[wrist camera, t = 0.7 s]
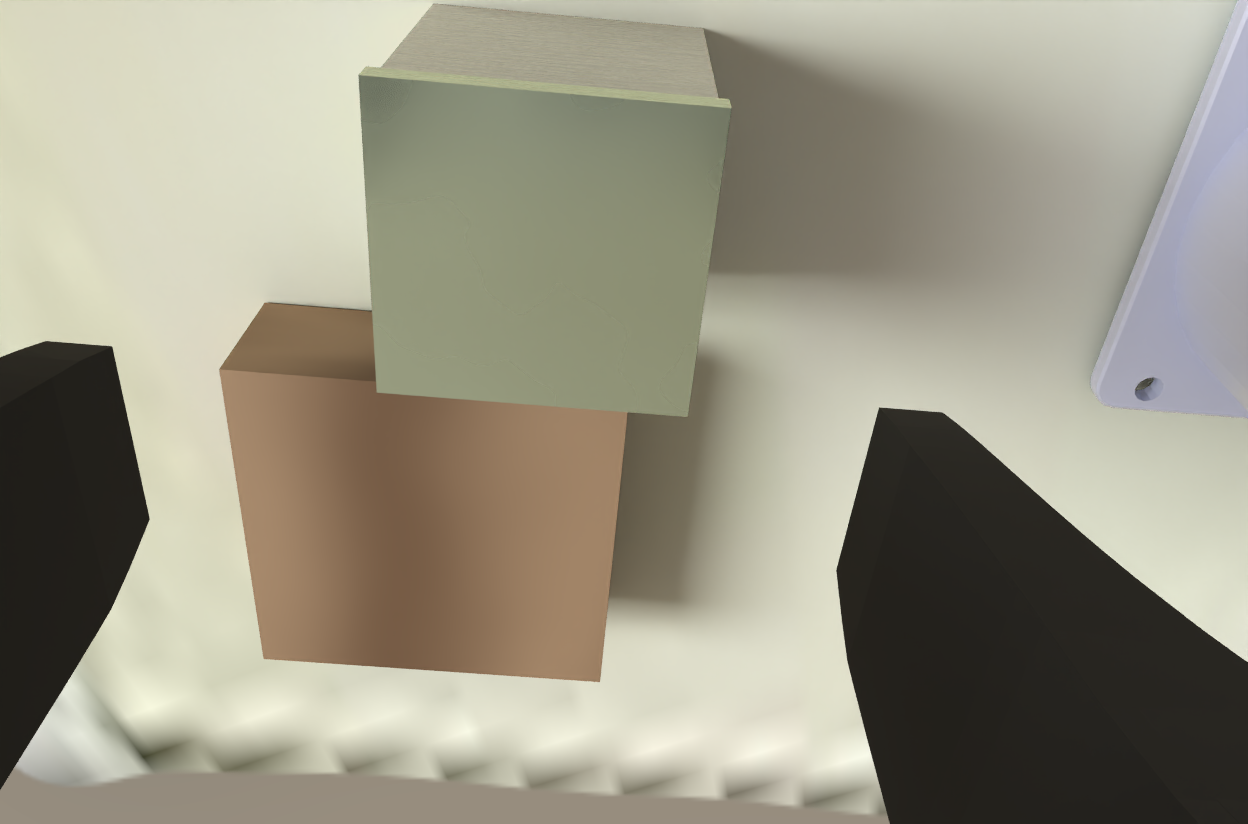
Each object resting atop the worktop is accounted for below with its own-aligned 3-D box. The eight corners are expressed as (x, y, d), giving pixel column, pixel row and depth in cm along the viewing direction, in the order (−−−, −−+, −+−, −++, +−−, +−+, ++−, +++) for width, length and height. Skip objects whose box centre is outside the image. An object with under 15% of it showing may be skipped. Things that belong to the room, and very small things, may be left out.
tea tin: (709, 21, 17) (732, 108, 13) (678, 276, 19) (687, 417, 15) (427, -5, 16) (358, 75, 12) (432, 256, 19) (377, 392, 15)
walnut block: (629, 332, 20) (628, 401, 18) (603, 598, 23) (599, 681, 21) (264, 302, 19) (219, 369, 17) (297, 577, 23) (263, 658, 21)
